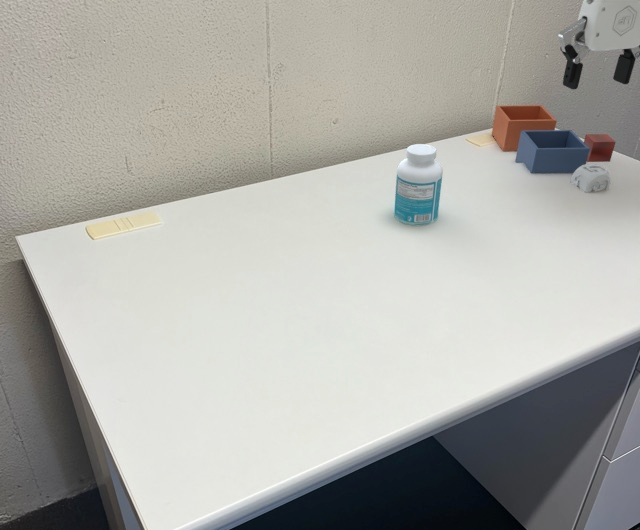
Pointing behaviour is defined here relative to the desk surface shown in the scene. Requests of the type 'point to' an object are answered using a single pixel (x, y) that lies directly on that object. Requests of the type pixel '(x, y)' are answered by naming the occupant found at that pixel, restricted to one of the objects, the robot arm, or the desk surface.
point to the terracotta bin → (519, 123)
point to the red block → (599, 147)
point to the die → (591, 178)
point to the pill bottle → (418, 186)
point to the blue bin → (551, 151)
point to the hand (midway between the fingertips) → (595, 84)
